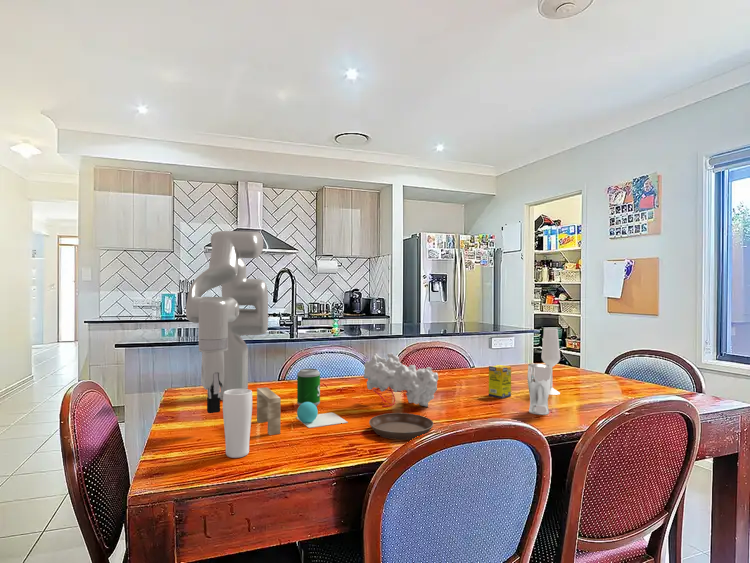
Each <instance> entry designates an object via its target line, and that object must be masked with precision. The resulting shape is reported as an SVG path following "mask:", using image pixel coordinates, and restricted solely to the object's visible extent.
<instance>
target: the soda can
mask: <svg viewBox="0 0 750 563" xmlns="http://www.w3.org/2000/svg"><path fill="white" fill-rule="evenodd" d="M296 378H297V380H296V384H297V386H296V388H297V389H296V390H297V391H296V398H297V399H296V400H297V401H296V402H297V406H298V407H299V406H300V405H301V404H302V403H304V402H311V403H313V404H314V405H315V406H316V407H318V405H320V403H321V372H320V371H319V370H318V368H317V369H316V368H301V369H300V370H299V371H298V372H297V377H296Z"/></svg>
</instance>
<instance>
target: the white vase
mask: <svg viewBox="0 0 750 563" xmlns="http://www.w3.org/2000/svg"><path fill="white" fill-rule="evenodd" d="M550 382H551V376H550V365H547V364H545V363H528V365H527V386H528V394H529V409H528V412H529V413H530V414H533V415H536V416H545V415H546V416H547V415H549V414H550V408H549V403H548V402H549V401H548V400H549V395H550V394H549V390H550Z"/></svg>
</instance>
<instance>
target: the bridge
mask: <svg viewBox="0 0 750 563" xmlns="http://www.w3.org/2000/svg"><path fill="white" fill-rule="evenodd" d="M281 406H282V405H281V397H280V396H279V395H277V394H276V393H275V392H274V391H273V390H271V389H270V388H269V387H267V386H266V387H257V388H256V422H257V423H258V424H261V423H267V435H269V436H272V435H280V434H281V413H282V412H281V409H282V408H281Z"/></svg>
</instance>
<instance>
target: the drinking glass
mask: <svg viewBox="0 0 750 563" xmlns="http://www.w3.org/2000/svg"><path fill="white" fill-rule="evenodd" d="M252 414H253V391H252V389H231V390H227V391H225V392H223V400H222V419H223V426H224V441H225V455H226V456H227V458H232V459H238V458H244V457H246V456H247V455H249V452H250V436H251V429H252V428H251V427H252V426H251V425H252V416H253V415H252Z"/></svg>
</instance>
